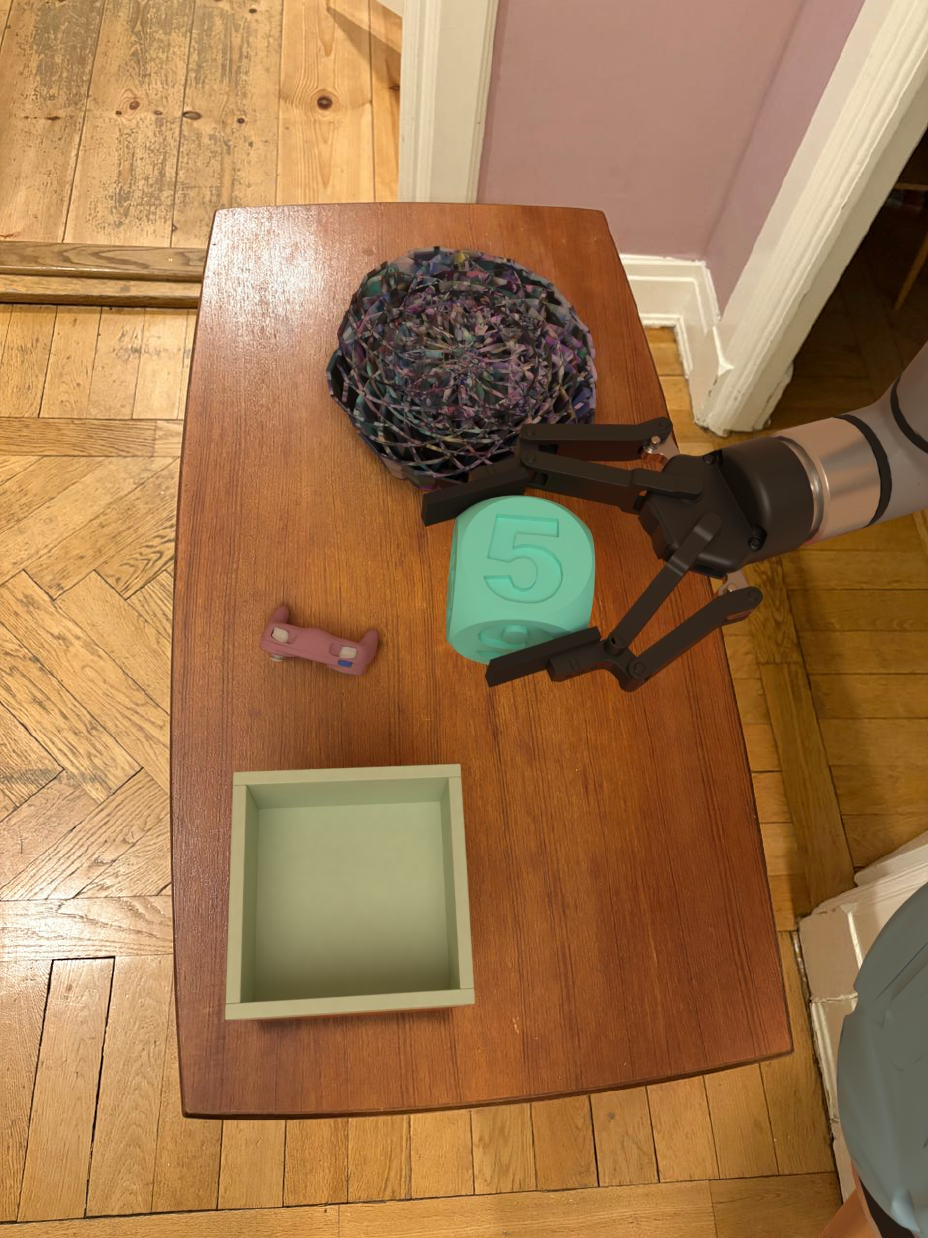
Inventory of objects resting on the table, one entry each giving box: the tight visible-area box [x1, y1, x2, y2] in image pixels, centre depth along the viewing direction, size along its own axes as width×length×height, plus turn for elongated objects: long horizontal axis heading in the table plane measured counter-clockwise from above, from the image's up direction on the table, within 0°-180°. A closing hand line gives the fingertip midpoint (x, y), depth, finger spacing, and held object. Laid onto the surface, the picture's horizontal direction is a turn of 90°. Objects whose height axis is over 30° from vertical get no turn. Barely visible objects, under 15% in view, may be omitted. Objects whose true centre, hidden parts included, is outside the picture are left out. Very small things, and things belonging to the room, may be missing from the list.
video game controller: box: [258, 604, 379, 676], centre depth 82 cm, size 10×5×7 cm, turn 76°
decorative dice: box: [445, 495, 596, 666], centre depth 58 cm, size 8×8×8 cm
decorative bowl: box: [325, 245, 599, 491], centre depth 93 cm, size 26×28×10 cm
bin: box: [224, 763, 476, 1021], centre depth 58 cm, size 14×14×8 cm
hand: (455, 589), depth 55 cm, fingers closed on decorative dice, 10 cm apart
